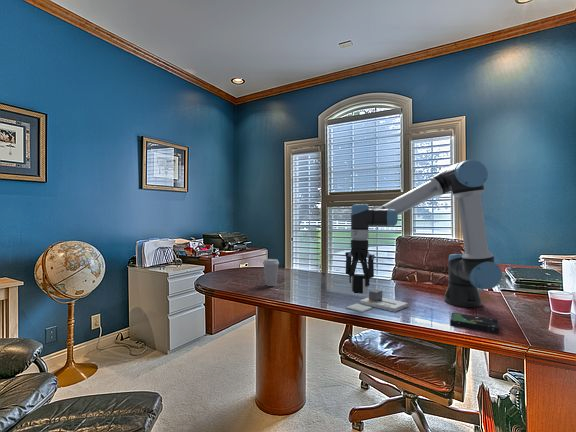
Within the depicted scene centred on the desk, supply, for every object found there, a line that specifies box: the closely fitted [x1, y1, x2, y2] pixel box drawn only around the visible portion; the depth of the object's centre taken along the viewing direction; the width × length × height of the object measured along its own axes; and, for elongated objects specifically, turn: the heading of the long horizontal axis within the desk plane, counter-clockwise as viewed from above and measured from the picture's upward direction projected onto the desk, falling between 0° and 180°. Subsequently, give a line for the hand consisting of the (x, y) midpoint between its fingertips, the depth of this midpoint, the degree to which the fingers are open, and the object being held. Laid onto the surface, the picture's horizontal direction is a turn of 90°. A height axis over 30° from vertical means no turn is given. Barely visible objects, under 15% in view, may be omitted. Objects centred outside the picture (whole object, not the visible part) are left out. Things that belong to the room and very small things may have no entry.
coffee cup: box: [262, 258, 280, 287], centre depth 171 cm, size 10×10×15 cm
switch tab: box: [368, 289, 383, 301], centre depth 137 cm, size 4×5×4 cm
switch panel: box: [359, 296, 409, 313], centre depth 134 cm, size 17×12×2 cm
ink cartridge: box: [352, 273, 365, 295], centre depth 129 cm, size 5×2×8 cm, turn 76°
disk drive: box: [449, 312, 500, 335], centre depth 109 cm, size 10×3×15 cm
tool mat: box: [345, 303, 373, 313], centre depth 129 cm, size 8×8×1 cm
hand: (359, 292), depth 129 cm, fingers closed on ink cartridge, 5 cm apart
